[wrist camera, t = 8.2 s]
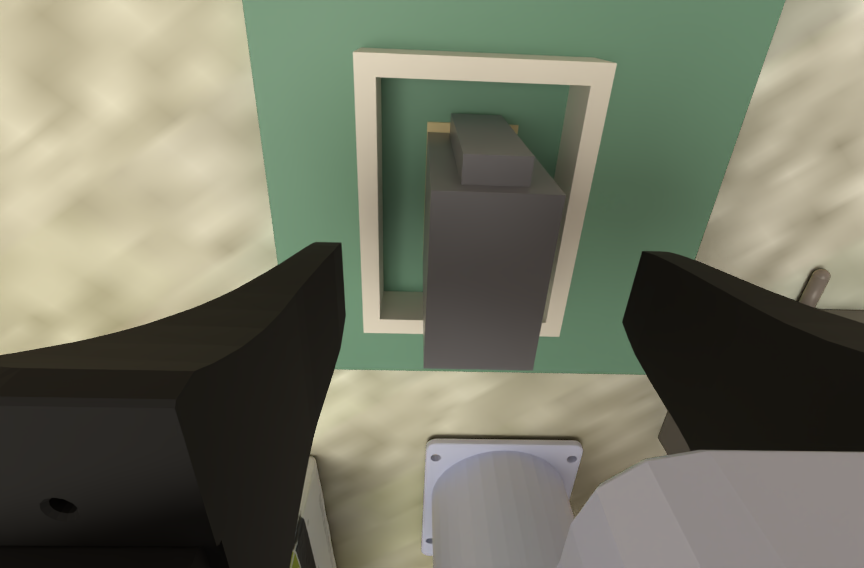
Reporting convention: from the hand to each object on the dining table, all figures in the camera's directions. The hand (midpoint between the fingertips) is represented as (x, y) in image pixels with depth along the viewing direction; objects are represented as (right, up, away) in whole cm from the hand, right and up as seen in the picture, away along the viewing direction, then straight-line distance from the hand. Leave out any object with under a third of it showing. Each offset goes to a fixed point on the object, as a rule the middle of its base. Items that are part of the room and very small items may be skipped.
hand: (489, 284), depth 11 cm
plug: (0, +3, +5) cm, 6 cm away
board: (+1, +4, +6) cm, 7 cm away
